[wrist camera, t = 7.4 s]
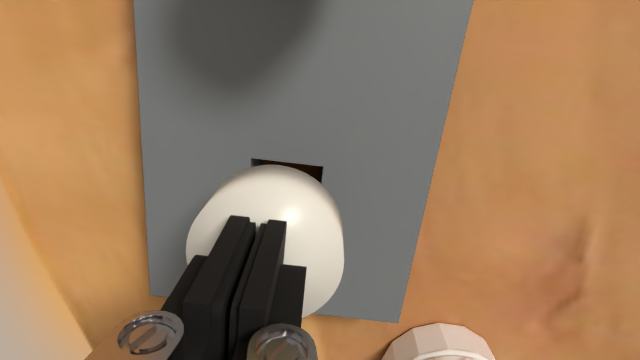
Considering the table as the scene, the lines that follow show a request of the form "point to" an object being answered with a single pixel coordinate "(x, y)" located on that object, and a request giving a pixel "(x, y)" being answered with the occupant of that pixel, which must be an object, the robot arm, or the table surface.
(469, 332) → the white cup
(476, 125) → the table surface
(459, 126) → the table surface
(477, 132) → the table surface
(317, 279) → the white knob
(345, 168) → the knob mount
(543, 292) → the table surface
